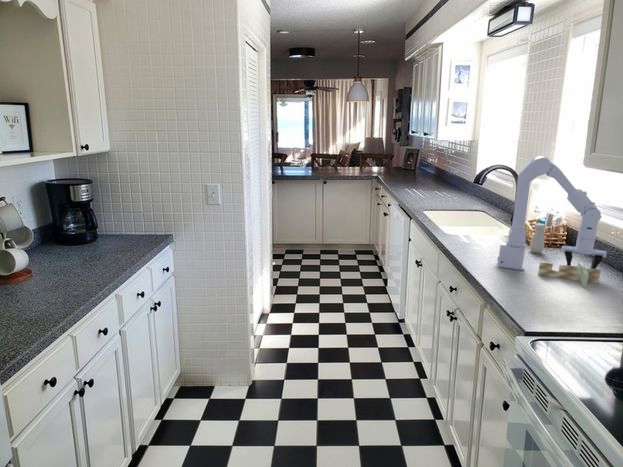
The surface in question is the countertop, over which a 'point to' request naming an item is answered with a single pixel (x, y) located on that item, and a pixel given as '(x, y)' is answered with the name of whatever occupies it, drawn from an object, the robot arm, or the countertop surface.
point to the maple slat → (568, 272)
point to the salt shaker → (538, 239)
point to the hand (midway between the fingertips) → (579, 272)
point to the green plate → (583, 274)
